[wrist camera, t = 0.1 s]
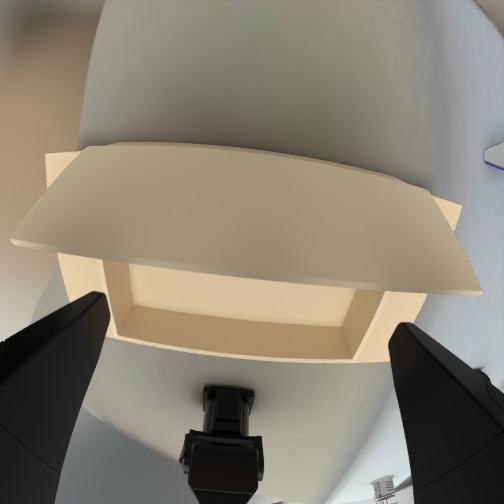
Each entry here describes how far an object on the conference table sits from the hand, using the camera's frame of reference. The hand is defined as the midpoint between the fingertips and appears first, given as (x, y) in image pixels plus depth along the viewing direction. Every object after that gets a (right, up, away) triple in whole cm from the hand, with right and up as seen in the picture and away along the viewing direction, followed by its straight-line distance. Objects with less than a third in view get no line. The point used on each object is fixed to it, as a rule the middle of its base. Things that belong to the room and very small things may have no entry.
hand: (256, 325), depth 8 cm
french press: (+50, -85, +61) cm, 116 cm away
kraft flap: (0, +4, +4) cm, 6 cm away
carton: (-1, +2, +15) cm, 16 cm away
